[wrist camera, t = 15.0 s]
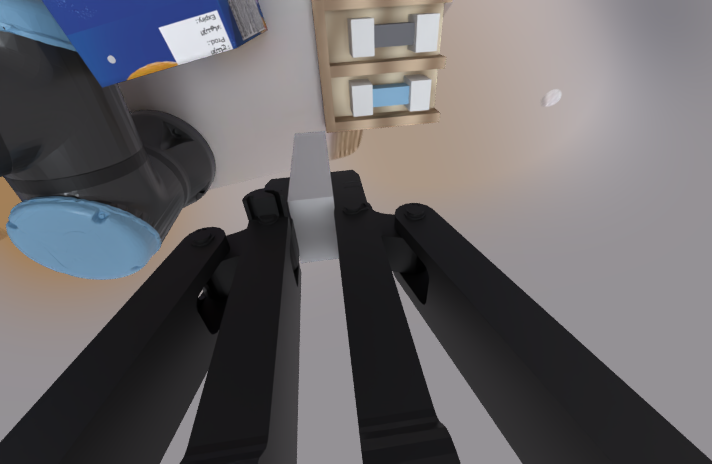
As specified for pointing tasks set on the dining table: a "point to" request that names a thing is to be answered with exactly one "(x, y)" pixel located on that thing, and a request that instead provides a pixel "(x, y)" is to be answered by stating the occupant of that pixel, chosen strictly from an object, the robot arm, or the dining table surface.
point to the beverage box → (153, 32)
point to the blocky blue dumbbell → (390, 94)
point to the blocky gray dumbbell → (393, 34)
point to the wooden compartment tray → (371, 61)
